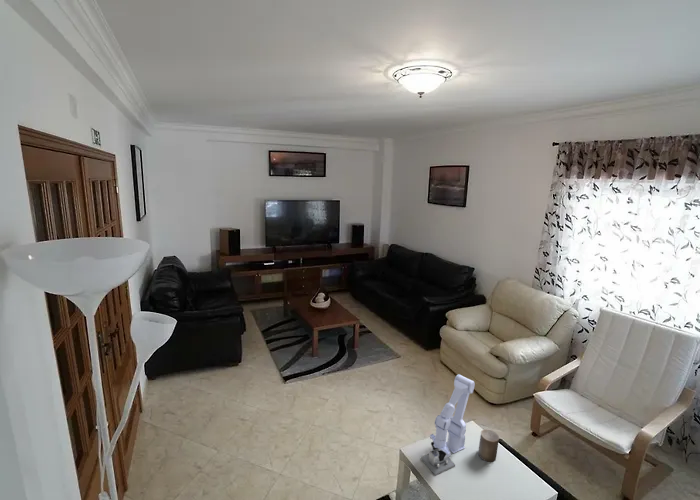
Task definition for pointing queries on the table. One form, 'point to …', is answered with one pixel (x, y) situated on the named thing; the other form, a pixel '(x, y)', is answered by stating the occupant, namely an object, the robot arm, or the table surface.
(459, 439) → the robot arm
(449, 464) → the pin tray
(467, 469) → the table surface
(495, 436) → the pillar candle
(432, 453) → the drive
